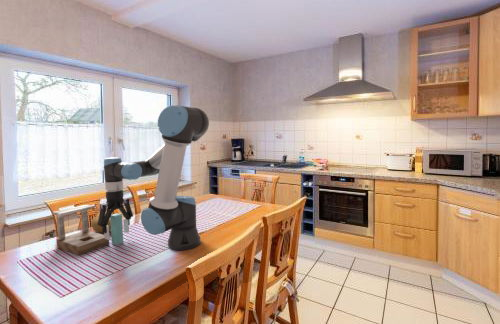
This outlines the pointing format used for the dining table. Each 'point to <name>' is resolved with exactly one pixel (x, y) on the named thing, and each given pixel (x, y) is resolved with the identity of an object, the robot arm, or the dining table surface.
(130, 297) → the dining table surface
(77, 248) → the socket stand
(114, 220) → the peg
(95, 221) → the potato
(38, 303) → the dining table surface
